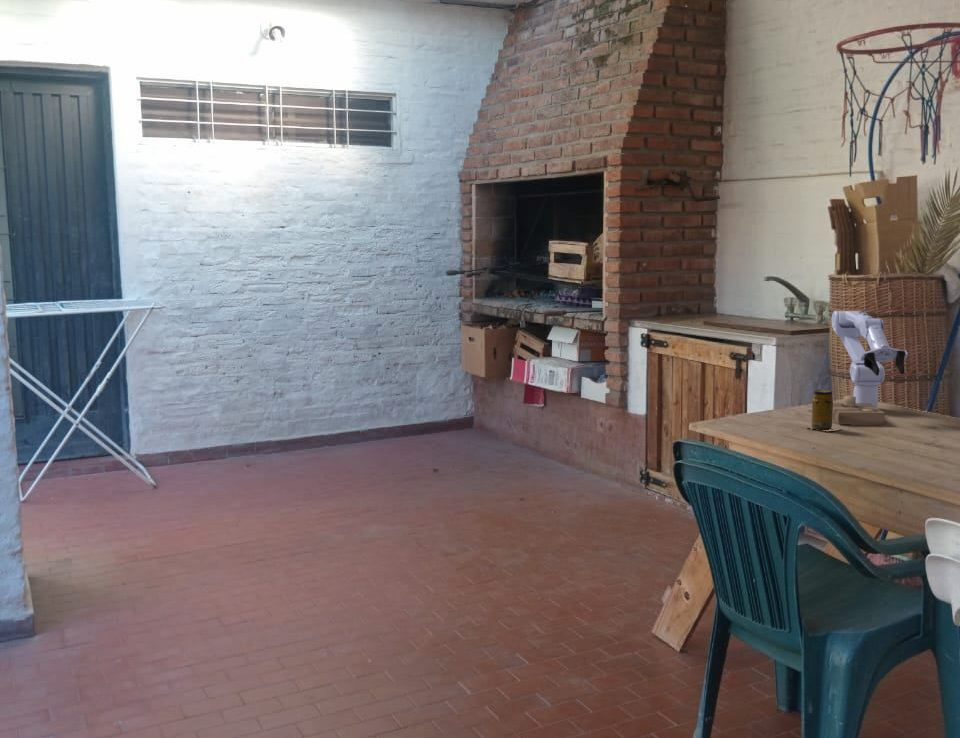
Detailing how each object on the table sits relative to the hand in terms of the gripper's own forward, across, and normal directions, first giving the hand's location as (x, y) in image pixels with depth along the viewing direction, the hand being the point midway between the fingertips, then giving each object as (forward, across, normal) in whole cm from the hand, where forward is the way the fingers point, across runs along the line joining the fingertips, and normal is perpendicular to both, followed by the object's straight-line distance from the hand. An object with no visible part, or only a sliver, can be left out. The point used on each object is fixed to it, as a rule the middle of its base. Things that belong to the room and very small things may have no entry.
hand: (890, 372), depth 316 cm
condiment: (+17, -24, +7) cm, 30 cm away
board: (+5, -10, +15) cm, 19 cm away
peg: (+1, -11, +14) cm, 18 cm away
